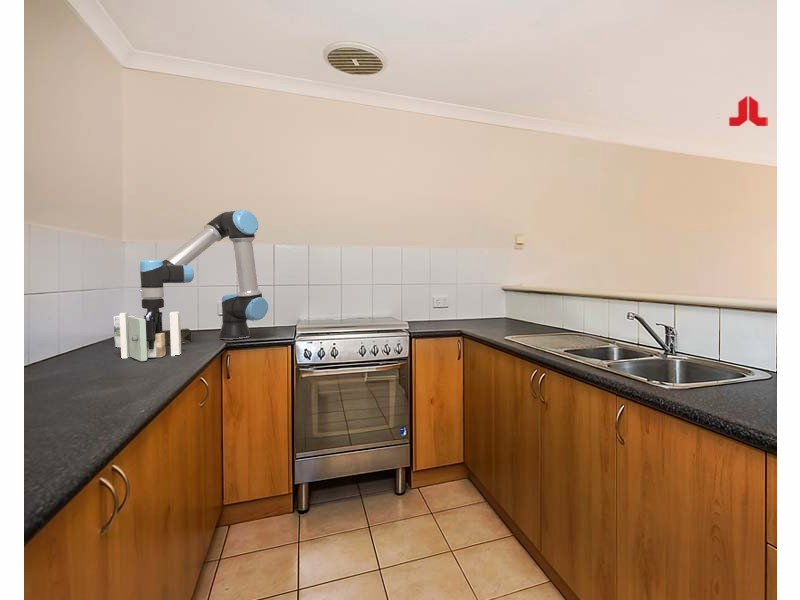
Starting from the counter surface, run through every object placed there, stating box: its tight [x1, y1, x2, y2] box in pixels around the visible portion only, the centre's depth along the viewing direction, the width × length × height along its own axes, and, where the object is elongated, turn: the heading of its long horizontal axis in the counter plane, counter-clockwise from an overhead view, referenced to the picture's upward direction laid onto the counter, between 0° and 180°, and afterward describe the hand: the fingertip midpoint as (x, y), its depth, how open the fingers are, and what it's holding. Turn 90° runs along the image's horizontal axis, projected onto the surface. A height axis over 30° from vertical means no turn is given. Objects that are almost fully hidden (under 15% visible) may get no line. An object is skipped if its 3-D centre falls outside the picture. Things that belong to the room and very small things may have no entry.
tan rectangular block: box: [146, 333, 167, 359], centre depth 152 cm, size 6×5×9 cm
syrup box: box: [112, 314, 135, 349], centre depth 172 cm, size 6×6×14 cm
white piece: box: [118, 311, 182, 359], centre depth 154 cm, size 20×3×18 cm, turn 107°
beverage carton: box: [162, 328, 193, 345], centre depth 183 cm, size 8×19×7 cm, turn 127°
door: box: [128, 316, 148, 362], centre depth 147 cm, size 14×4×16 cm, turn 52°
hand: (155, 355), depth 153 cm, fingers closed on tan rectangular block, 5 cm apart
